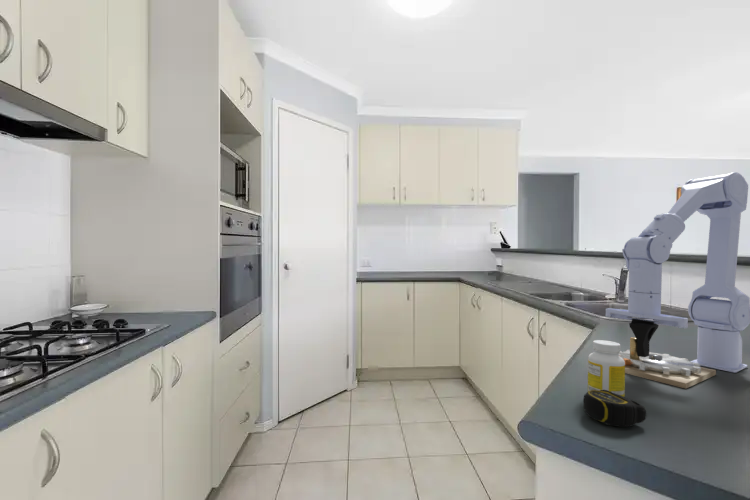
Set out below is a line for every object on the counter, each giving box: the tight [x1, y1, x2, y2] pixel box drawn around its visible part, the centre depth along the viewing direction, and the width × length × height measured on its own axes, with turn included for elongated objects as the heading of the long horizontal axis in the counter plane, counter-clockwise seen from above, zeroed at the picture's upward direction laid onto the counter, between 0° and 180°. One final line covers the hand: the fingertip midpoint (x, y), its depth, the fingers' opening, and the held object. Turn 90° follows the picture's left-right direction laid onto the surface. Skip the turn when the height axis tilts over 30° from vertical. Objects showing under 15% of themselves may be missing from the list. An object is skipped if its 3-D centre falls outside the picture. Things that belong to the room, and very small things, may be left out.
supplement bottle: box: [587, 339, 626, 397], centre depth 64 cm, size 5×5×10 cm
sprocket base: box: [625, 365, 717, 390], centre depth 82 cm, size 17×16×1 cm
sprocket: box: [619, 336, 701, 376], centre depth 82 cm, size 15×15×6 cm
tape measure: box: [583, 390, 647, 428], centre depth 56 cm, size 7×7×4 cm
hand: (642, 356), depth 80 cm, fingers closed
